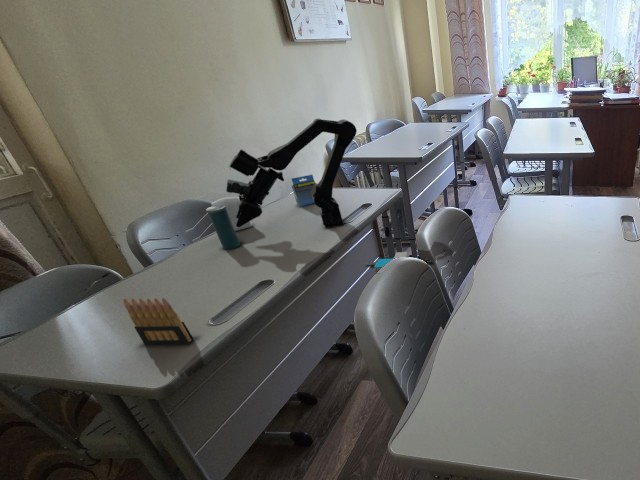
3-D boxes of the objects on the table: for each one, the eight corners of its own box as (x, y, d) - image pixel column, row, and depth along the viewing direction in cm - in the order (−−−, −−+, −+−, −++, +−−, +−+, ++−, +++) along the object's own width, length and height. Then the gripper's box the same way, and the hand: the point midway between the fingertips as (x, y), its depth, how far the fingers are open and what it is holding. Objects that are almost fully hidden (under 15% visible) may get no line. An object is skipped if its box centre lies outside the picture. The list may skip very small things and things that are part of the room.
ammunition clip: (194, 339, 92) (170, 295, 86) (188, 344, 91) (163, 300, 85) (150, 339, 93) (123, 296, 87) (144, 344, 91) (116, 301, 85)
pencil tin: (244, 243, 140) (228, 204, 133) (234, 249, 135) (217, 210, 128) (230, 243, 140) (213, 205, 133) (219, 249, 136) (201, 210, 129)
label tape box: (317, 200, 178) (309, 172, 172) (320, 202, 175) (312, 174, 169) (297, 205, 173) (288, 176, 167) (300, 207, 171) (291, 178, 164)
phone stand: (433, 252, 126) (433, 247, 125) (428, 270, 116) (428, 265, 115) (370, 255, 126) (369, 251, 125) (360, 274, 116) (359, 269, 115)
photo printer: (250, 224, 156) (238, 193, 149) (253, 226, 153) (241, 195, 147) (220, 232, 150) (207, 200, 143) (223, 235, 147) (209, 203, 141)
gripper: (236, 164, 136) (212, 202, 137) (235, 176, 122) (209, 218, 123) (269, 182, 143) (246, 218, 145) (272, 196, 129) (247, 235, 130)
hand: (237, 222), depth 136 cm, fingers open, 9 cm apart
